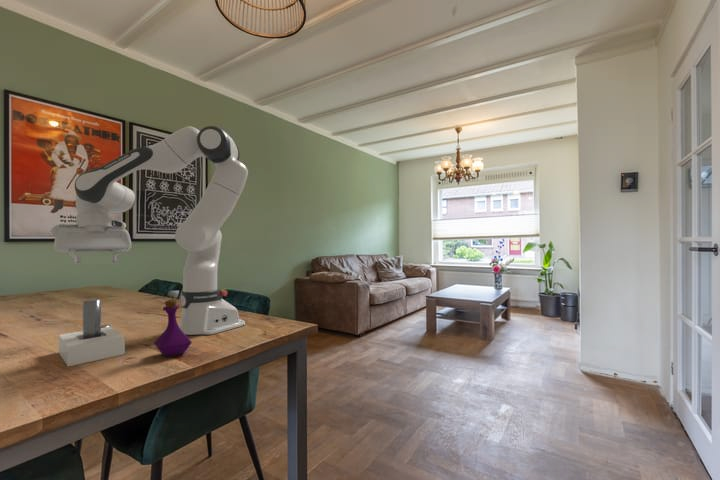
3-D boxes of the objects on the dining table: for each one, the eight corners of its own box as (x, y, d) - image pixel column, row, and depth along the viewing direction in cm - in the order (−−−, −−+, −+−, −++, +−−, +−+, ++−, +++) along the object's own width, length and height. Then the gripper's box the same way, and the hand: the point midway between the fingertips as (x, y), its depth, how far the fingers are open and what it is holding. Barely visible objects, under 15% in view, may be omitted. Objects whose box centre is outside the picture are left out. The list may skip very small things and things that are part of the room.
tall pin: (94, 350, 95) (94, 298, 95) (104, 351, 94) (104, 299, 94) (78, 354, 91) (79, 301, 91) (89, 356, 90) (89, 301, 90)
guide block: (110, 342, 102) (110, 326, 102) (124, 354, 92) (124, 336, 92) (58, 352, 93) (58, 334, 93) (67, 366, 83) (67, 346, 83)
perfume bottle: (153, 354, 92) (153, 290, 92) (182, 348, 97) (182, 287, 97) (162, 361, 87) (162, 293, 87) (191, 354, 92) (192, 290, 92)
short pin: (108, 337, 108) (108, 324, 108) (112, 340, 105) (112, 326, 105) (93, 340, 105) (93, 326, 105) (96, 342, 102) (96, 328, 102)
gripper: (53, 219, 103) (54, 260, 99) (130, 223, 118) (134, 259, 114) (51, 227, 106) (52, 267, 103) (126, 230, 122) (129, 265, 118)
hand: (96, 263), depth 109 cm, fingers open, 8 cm apart
